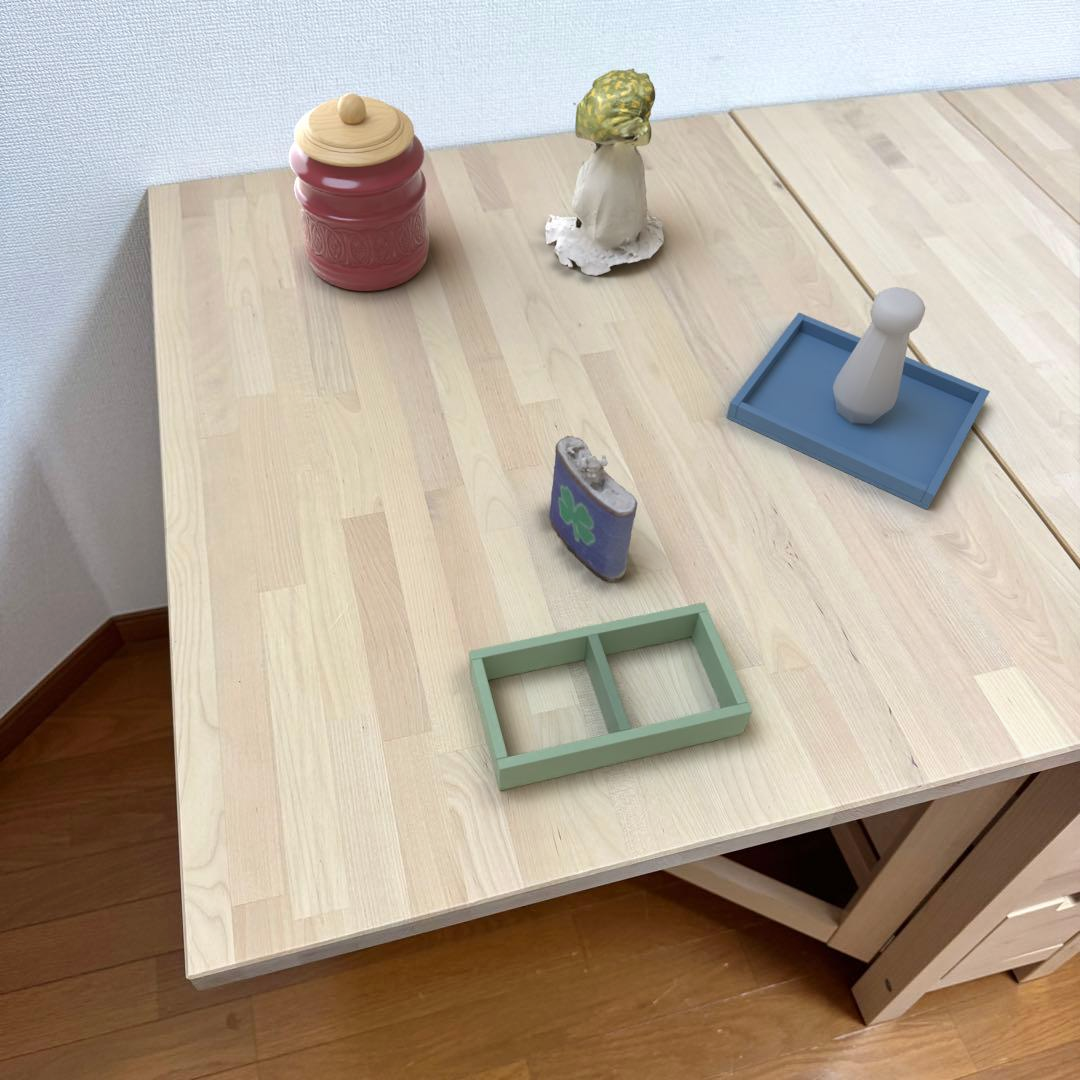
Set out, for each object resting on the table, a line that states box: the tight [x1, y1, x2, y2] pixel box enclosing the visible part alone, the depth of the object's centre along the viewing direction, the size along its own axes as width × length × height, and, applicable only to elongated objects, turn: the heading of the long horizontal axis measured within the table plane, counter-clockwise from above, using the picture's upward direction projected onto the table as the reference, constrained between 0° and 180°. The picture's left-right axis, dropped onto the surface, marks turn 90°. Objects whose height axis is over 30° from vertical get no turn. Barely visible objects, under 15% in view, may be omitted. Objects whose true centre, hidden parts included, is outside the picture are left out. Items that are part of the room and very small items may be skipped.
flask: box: [548, 435, 638, 583], centre depth 79 cm, size 9×3×11 cm, turn 34°
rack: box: [468, 601, 753, 791], centre depth 73 cm, size 18×10×4 cm, turn 105°
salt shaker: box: [833, 286, 926, 424], centre depth 89 cm, size 6×6×13 cm
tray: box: [726, 312, 991, 511], centre depth 94 cm, size 20×16×2 cm
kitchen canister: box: [288, 92, 430, 292], centre depth 99 cm, size 13×13×18 cm
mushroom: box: [545, 68, 665, 277], centre depth 102 cm, size 12×13×18 cm
